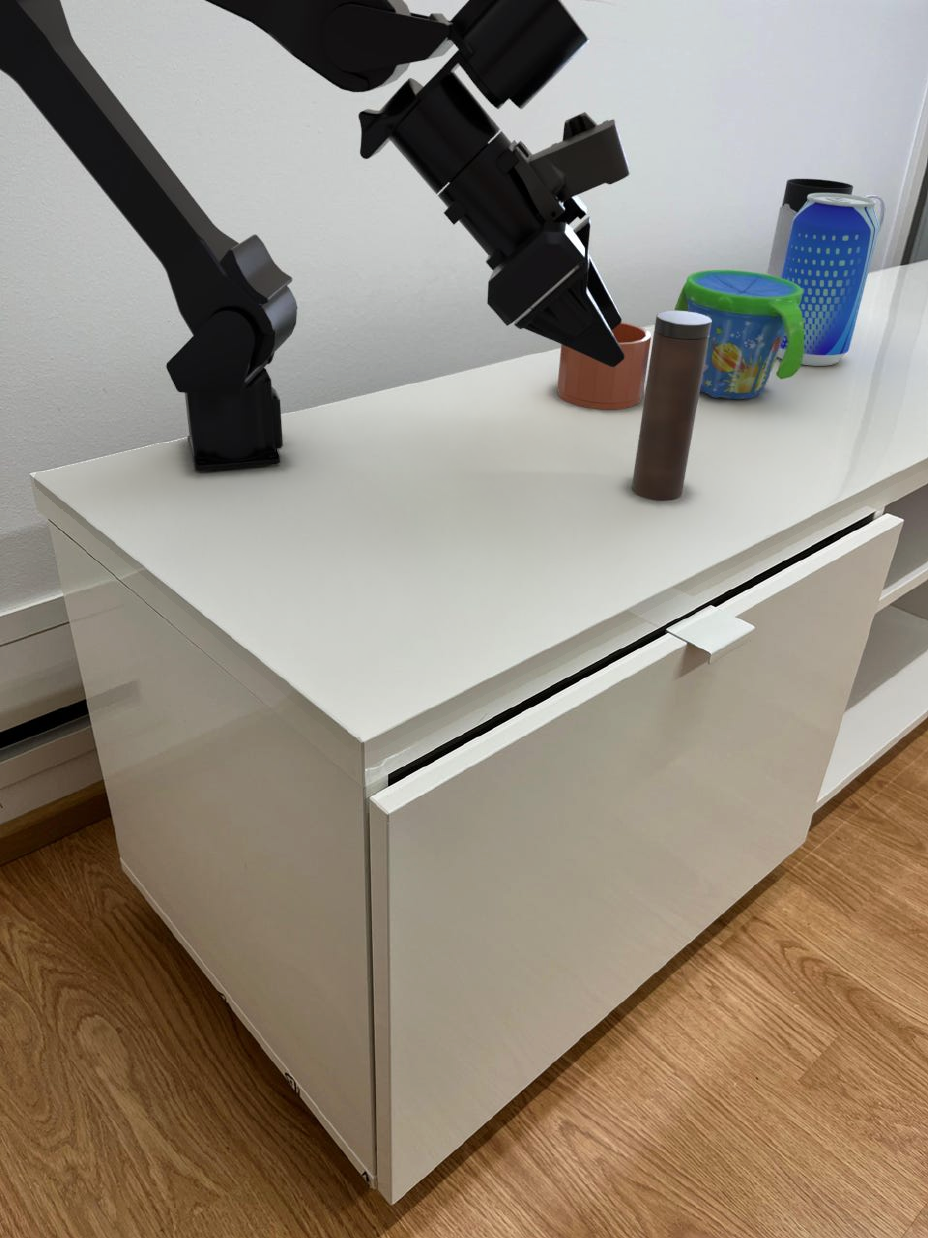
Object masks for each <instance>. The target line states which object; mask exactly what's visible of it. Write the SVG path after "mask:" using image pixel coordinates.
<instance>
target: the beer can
mask: <svg viewBox="0 0 928 1238" xmlns="http://www.w3.org/2000/svg"><path fill="white" fill-rule="evenodd" d="M807 199H808V200H807V202H806V203H805V204H804V206H803V207H802V208H801V209H800V210H799V212H798V213H797V214H796V215H795V217H794V219H793V223H792V228H791V232H790V237H789V242H788V247H787V252H786V257H785V262H784V266H783V271H782V276H781V278H783V279H786V280H788V281H791V282H793V283H795V284H797V285H798V286H800V287H801V289H802V290H803V294H802V298H801V302H800V304H799V308H800V310H801V313H802V318H803V322H804V352H803V359H802V364H801V366H802V365H804V366H811V367H822V366H823V367H824V366H832V365H835V364H837V363H839V361H840V359H842V357H843V356H845V355H846V354H847V353H848V352H849V351H850V347H851V343H852V339H853V336H854V330H855V327H856V324H857V320H858V316H859V311H860V307H861V302H862V300H863V295H864V292H865V287H866V284H867V279H868V275H869V271H870V268H871V263H872V259H873V256H874V251H875V248H876V244H877V239H878V237H879V235H878V232H879V222H878V220H879V218H878V217H877V213H876V209H875V205H876V204H877V201H876V199H874V198H866V197H864V196H861V195H854V194H852V195H848V194H837V193H813V194H809V195H808V196H807ZM877 236H878V237H877ZM787 345H788V341H787V337H786V333H785V336H784V338H783V340H782V343H781V346H780V350H779V352H778V355H777V358H778V359H780V360H782V358H783V356H784V353H785V350H786V348H787Z"/></svg>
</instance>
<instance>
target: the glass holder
mask: <svg viewBox="0 0 928 1238" xmlns="http://www.w3.org/2000/svg"><path fill="white" fill-rule="evenodd" d="M853 190H854V185H852V184H850V183H847V182H842V181H837V180H836V181H835V180H828V179H820V178H789V179H787V180H786V184H785V189H784V194H783V199H782V204H781V206H780V207H779V212H778V216H777V221H776V226H775V231H774V237H773V240H772V242H773V243H772V247H771V251H770V255H769V256H770V257H769V262H768V266H767V271H766V275H771V276H775V277H779V278H781V276H782V271H783V266H784V262H785V257H786V252H787V247H788V242H789V237H790V232H791V228H792V223H793V219H794V217H795V215H796V214H797V213H798V212H799V210H800V209H801V208H802V207H803V206H804V204H805V203H806V202H807V200H808V199H807V196H808V195H809V194H813V193H837V194H848V195H853ZM863 197H866V198H870V199H874V200H877V201H878V203H879V208H880V209H879V217H878V222H879V232H878V236H877V238H878V237H879V235H880V233H881V231H882V227H883V224H884V220H885V216H886V211H887V210H886V208H887V207H886V204H885V201H884V199H883V198H882V197H880V196H878V195H876V194H867V195H864V196H863Z"/></svg>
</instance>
